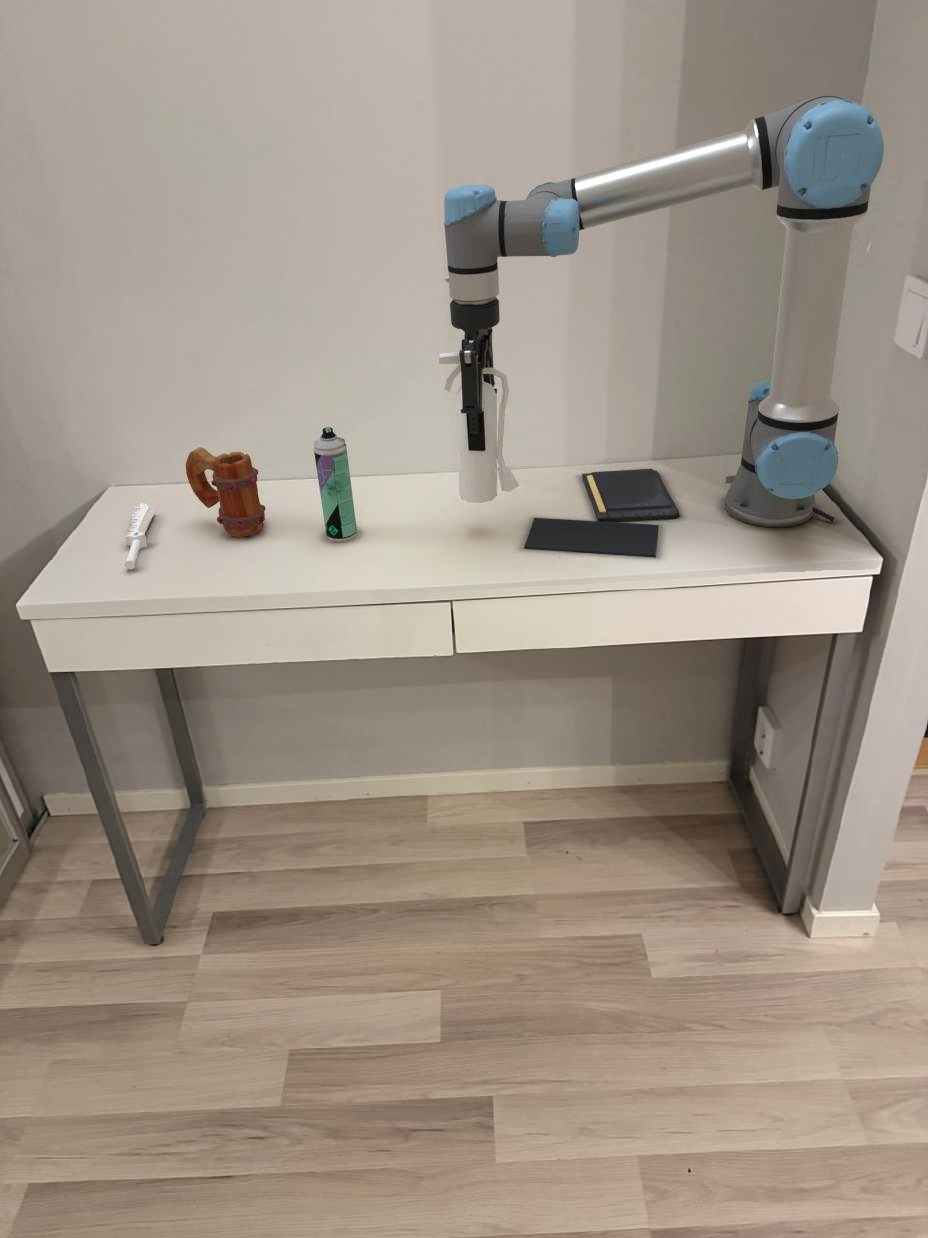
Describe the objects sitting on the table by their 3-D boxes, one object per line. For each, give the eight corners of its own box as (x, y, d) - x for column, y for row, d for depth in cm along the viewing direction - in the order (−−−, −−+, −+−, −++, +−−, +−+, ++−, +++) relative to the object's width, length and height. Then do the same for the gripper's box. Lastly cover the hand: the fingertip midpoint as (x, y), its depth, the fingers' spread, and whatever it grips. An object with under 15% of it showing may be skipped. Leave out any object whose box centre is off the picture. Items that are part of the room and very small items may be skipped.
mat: (658, 526, 158) (658, 524, 158) (655, 557, 149) (655, 555, 149) (534, 519, 163) (534, 517, 162) (524, 548, 154) (524, 546, 153)
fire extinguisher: (518, 504, 151) (514, 355, 138) (447, 504, 153) (436, 357, 140) (520, 487, 157) (517, 342, 144) (451, 488, 158) (442, 344, 145)
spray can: (344, 525, 164) (330, 420, 153) (363, 534, 161) (350, 427, 150) (320, 536, 161) (304, 429, 150) (339, 545, 158) (324, 437, 147)
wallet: (681, 509, 159) (594, 513, 159) (680, 518, 160) (594, 522, 160) (659, 463, 176) (581, 467, 176) (659, 472, 177) (581, 476, 177)
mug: (279, 524, 166) (265, 447, 157) (253, 544, 160) (237, 465, 151) (215, 512, 171) (199, 438, 163) (187, 531, 165) (169, 455, 157)
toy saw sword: (117, 573, 153) (136, 515, 172) (141, 570, 154) (157, 513, 172) (113, 559, 152) (133, 503, 170) (137, 557, 152) (154, 501, 171)
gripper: (464, 283, 146) (471, 419, 158) (434, 315, 130) (445, 464, 143) (509, 282, 144) (513, 421, 157) (485, 315, 128) (492, 466, 141)
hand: (481, 441), depth 150 cm, fingers closed on fire extinguisher, 6 cm apart
